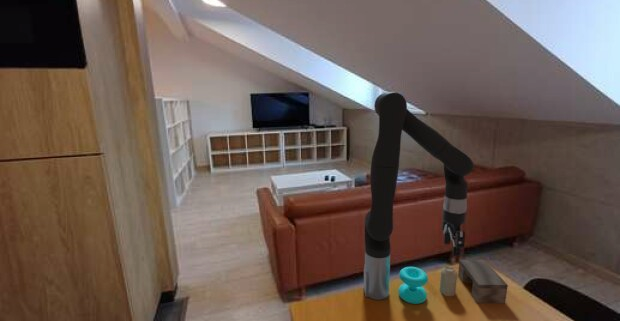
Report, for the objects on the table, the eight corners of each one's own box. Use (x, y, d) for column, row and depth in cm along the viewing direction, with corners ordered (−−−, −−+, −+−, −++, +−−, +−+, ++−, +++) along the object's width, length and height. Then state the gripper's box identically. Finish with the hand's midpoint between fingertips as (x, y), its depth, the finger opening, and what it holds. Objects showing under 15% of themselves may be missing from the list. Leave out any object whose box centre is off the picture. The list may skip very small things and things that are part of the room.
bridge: (476, 302, 109) (478, 284, 107) (458, 276, 125) (459, 259, 123) (505, 303, 109) (507, 285, 107) (483, 276, 124) (484, 260, 122)
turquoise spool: (395, 266, 115) (419, 263, 117) (394, 289, 118) (418, 286, 119) (407, 282, 106) (433, 279, 107) (405, 307, 108) (431, 303, 109)
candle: (452, 287, 118) (454, 264, 116) (457, 296, 113) (460, 273, 110) (437, 286, 118) (439, 264, 116) (442, 296, 113) (444, 272, 111)
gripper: (436, 201, 115) (434, 240, 119) (451, 216, 101) (448, 260, 105) (457, 201, 114) (454, 240, 118) (474, 216, 100) (470, 260, 104)
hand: (451, 249), depth 111 cm, fingers open, 8 cm apart
